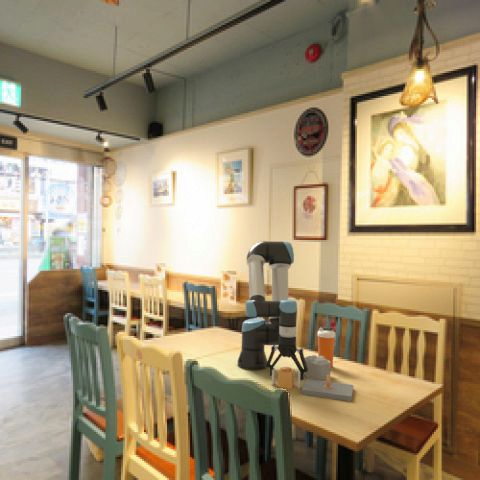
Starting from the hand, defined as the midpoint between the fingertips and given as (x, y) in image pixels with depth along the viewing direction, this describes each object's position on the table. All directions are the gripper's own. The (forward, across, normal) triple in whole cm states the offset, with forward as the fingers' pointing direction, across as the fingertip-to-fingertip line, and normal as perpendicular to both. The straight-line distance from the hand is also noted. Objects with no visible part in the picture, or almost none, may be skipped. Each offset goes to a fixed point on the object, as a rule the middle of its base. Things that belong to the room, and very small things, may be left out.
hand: (286, 385), depth 178 cm
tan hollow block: (0, 0, 0) cm, 0 cm away
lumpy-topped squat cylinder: (0, +10, +20) cm, 22 cm away
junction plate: (0, +18, 0) cm, 18 cm away
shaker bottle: (0, +13, +35) cm, 37 cm away
